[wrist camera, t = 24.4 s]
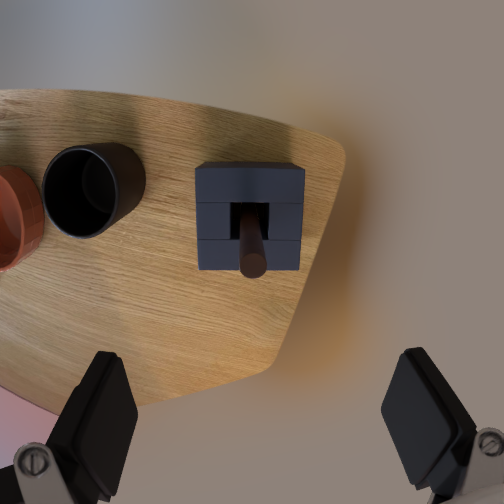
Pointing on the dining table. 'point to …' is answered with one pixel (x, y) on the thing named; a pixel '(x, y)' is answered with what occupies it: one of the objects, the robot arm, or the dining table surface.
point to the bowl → (18, 217)
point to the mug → (92, 187)
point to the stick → (251, 243)
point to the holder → (249, 190)
